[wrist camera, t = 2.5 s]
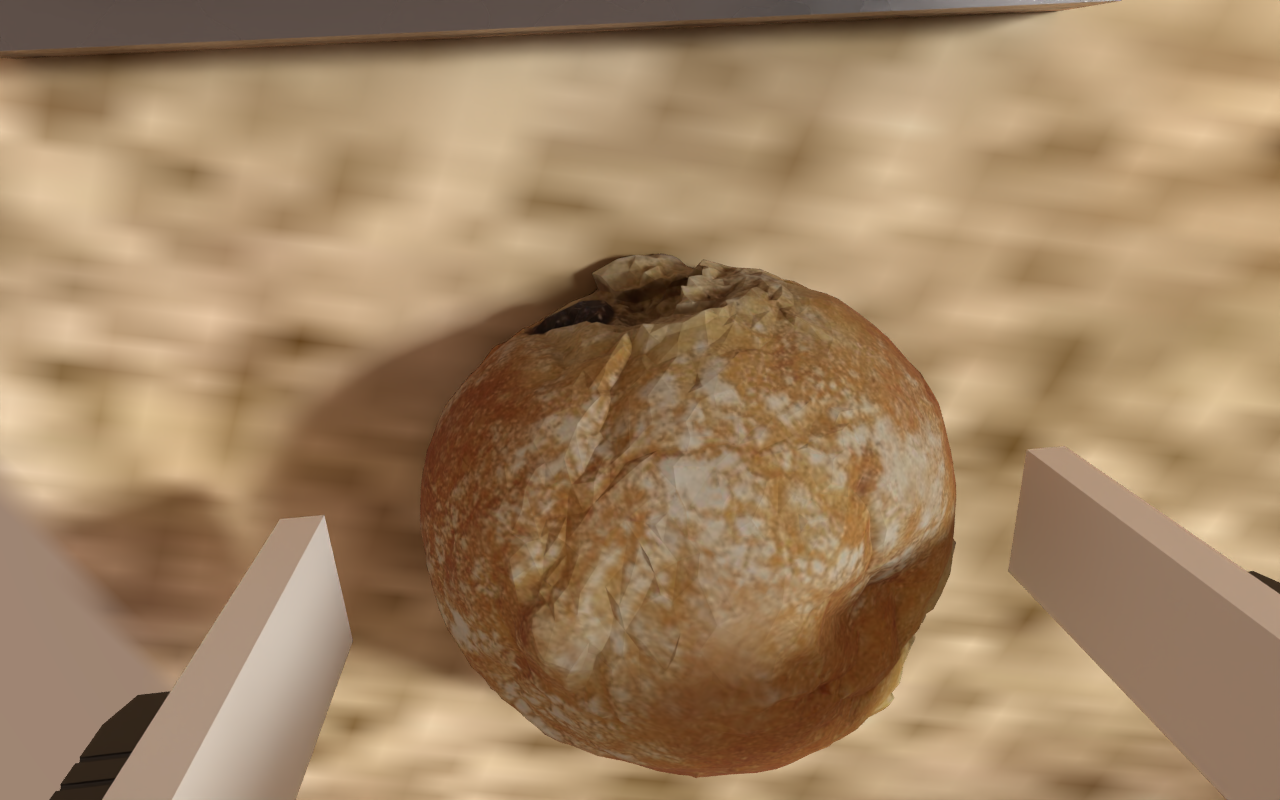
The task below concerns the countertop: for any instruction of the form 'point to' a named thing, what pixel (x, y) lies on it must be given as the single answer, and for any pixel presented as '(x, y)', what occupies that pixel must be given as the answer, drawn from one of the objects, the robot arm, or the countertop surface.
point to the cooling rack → (413, 20)
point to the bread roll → (691, 518)
